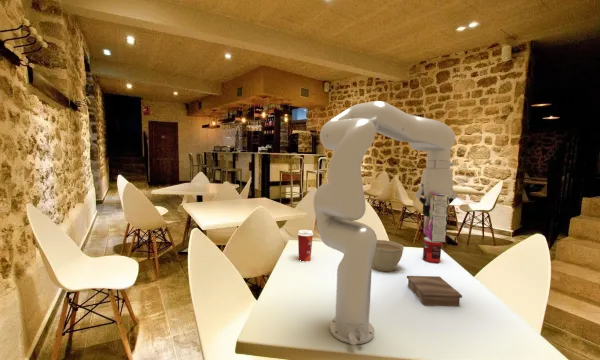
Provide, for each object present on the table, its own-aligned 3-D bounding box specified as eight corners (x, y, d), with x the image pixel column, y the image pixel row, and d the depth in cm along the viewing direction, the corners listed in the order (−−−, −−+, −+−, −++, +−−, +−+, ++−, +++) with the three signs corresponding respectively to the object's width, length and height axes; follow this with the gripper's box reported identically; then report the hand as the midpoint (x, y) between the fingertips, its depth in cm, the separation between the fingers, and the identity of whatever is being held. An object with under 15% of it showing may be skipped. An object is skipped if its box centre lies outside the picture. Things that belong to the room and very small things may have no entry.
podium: (461, 306, 100) (462, 295, 100) (423, 305, 100) (424, 294, 100) (438, 286, 116) (439, 276, 116) (406, 285, 116) (406, 275, 116)
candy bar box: (422, 233, 112) (424, 190, 110) (436, 234, 111) (439, 191, 110) (430, 241, 101) (433, 194, 99) (446, 242, 100) (449, 195, 99)
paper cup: (312, 262, 138) (313, 233, 137) (296, 262, 138) (297, 233, 137) (312, 257, 146) (313, 229, 145) (296, 256, 146) (297, 229, 145)
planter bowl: (407, 275, 126) (408, 250, 125) (369, 274, 127) (370, 249, 126) (395, 262, 142) (397, 240, 142) (362, 260, 143) (363, 239, 142)
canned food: (424, 257, 151) (425, 236, 150) (441, 260, 147) (443, 238, 146) (420, 261, 145) (422, 239, 144) (438, 264, 140) (439, 242, 140)
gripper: (456, 165, 108) (452, 214, 109) (409, 164, 108) (407, 213, 109) (468, 166, 100) (464, 218, 102) (418, 165, 100) (415, 217, 102)
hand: (434, 215), depth 105 cm, fingers closed on candy bar box, 5 cm apart
